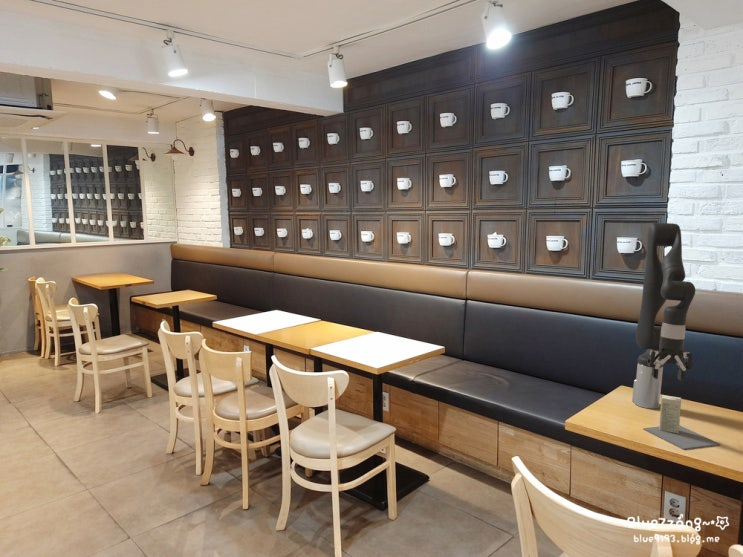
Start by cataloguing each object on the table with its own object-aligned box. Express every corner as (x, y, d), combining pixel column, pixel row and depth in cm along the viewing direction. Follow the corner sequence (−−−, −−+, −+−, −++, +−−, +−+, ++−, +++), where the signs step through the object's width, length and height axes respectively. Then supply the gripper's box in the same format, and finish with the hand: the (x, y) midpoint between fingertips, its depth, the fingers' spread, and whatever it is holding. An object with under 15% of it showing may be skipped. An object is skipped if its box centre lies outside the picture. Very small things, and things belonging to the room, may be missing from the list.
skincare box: (678, 430, 186) (682, 397, 184) (678, 434, 182) (682, 401, 181) (658, 426, 189) (661, 394, 188) (658, 429, 185) (661, 397, 184)
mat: (643, 429, 187) (643, 428, 187) (677, 425, 191) (677, 424, 191) (683, 449, 170) (683, 448, 170) (720, 445, 175) (720, 443, 175)
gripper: (688, 334, 187) (682, 377, 189) (647, 332, 188) (642, 374, 191) (698, 339, 180) (693, 383, 182) (656, 337, 181) (651, 381, 183)
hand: (667, 379), depth 186 cm, fingers open, 8 cm apart
